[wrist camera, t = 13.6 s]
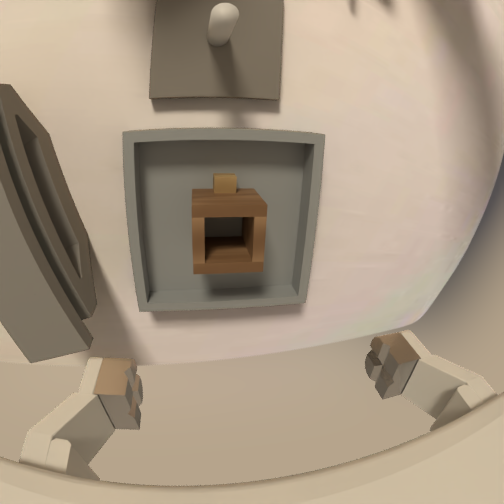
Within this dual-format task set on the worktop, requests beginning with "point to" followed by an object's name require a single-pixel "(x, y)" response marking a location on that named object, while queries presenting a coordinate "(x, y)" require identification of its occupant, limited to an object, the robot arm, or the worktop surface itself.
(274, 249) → the tray
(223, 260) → the open wooden cubby
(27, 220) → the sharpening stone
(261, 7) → the peg stand
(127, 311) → the worktop surface
